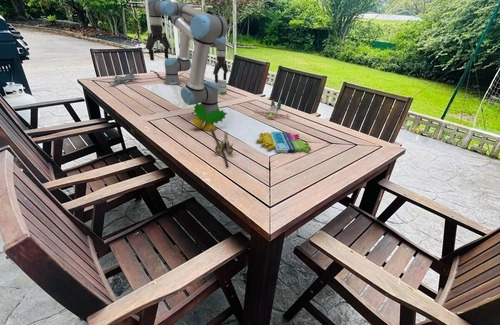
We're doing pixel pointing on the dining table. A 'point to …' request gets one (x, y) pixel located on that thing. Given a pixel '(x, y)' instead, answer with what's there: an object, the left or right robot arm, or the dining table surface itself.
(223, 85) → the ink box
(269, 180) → the dining table surface
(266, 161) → the dining table surface
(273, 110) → the toy
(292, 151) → the colourful gloves pack
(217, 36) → the right robot arm
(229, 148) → the jawbone
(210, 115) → the ornament
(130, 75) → the airplane
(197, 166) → the dining table surface
